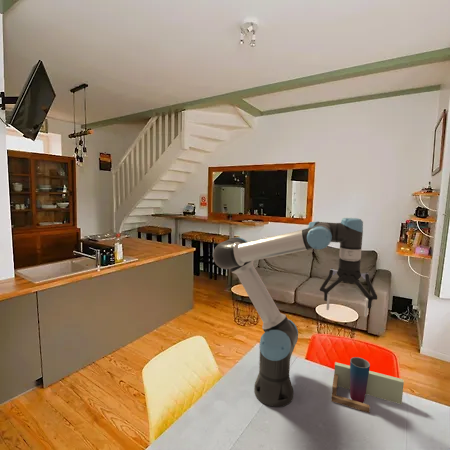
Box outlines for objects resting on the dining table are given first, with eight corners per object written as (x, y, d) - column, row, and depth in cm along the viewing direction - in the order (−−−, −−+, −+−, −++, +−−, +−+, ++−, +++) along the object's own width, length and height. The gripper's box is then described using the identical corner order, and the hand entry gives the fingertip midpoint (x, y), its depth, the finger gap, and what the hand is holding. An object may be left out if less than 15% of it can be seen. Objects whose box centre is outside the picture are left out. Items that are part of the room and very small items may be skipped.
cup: (369, 406, 105) (372, 369, 103) (350, 403, 106) (352, 366, 104) (364, 393, 111) (366, 358, 110) (345, 391, 113) (348, 356, 111)
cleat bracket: (331, 401, 107) (331, 389, 107) (333, 384, 116) (334, 373, 116) (369, 413, 102) (370, 400, 101) (368, 395, 111) (369, 383, 110)
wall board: (333, 384, 116) (334, 364, 115) (334, 382, 118) (335, 362, 117) (401, 404, 106) (403, 382, 105) (400, 401, 108) (403, 379, 106)
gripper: (314, 257, 109) (311, 309, 111) (388, 265, 98) (383, 322, 101) (317, 253, 116) (314, 302, 118) (386, 260, 105) (382, 314, 107)
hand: (346, 312), depth 109 cm, fingers open, 13 cm apart
